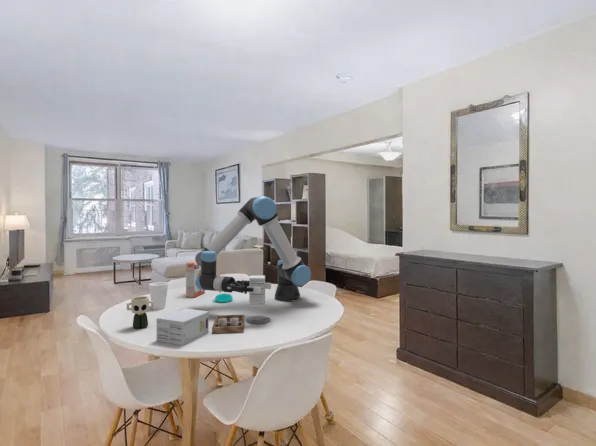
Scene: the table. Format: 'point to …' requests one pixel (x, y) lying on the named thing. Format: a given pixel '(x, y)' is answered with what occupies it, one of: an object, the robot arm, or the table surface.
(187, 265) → the cracker box
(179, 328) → the supplement box
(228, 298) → the donuts
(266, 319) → the coaster
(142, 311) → the character mug
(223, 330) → the tray
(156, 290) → the foam cup
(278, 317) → the table surface
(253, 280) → the supplement box
